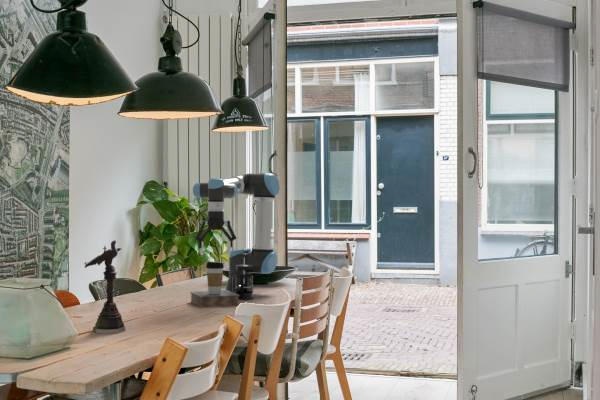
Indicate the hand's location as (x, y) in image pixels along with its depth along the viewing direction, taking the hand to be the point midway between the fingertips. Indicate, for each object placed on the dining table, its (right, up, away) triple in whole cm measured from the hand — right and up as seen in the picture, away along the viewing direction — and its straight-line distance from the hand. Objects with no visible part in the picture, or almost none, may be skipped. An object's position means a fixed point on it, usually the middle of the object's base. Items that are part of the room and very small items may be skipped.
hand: (215, 254), depth 349 cm
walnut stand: (0, -24, 0) cm, 24 cm away
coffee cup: (0, -19, 0) cm, 19 cm away
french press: (+12, -24, +19) cm, 33 cm away
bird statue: (-34, -24, -74) cm, 85 cm away
